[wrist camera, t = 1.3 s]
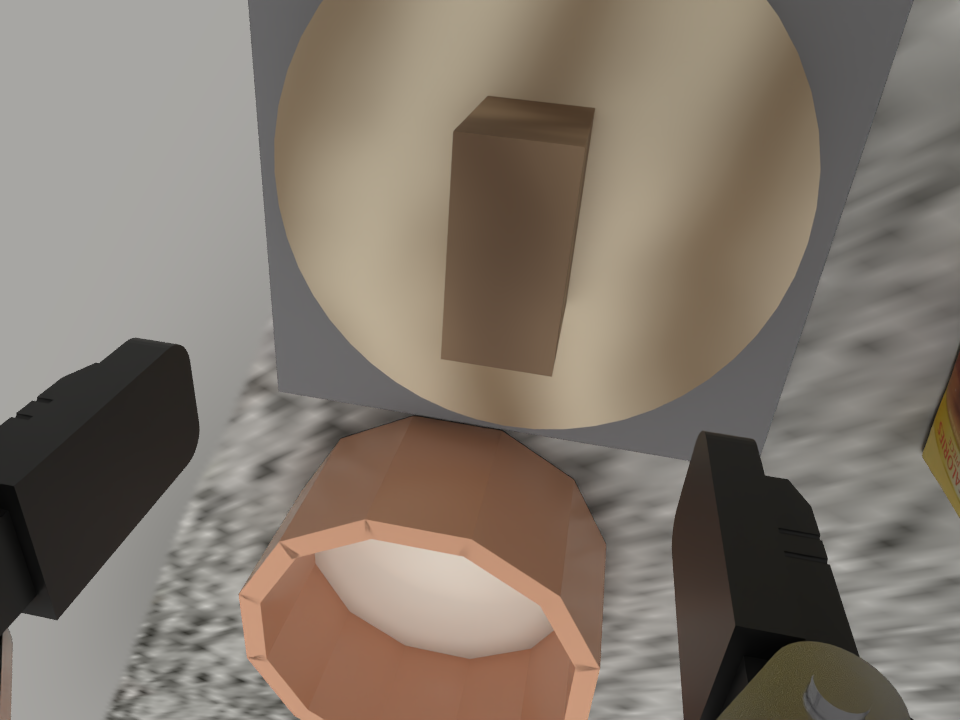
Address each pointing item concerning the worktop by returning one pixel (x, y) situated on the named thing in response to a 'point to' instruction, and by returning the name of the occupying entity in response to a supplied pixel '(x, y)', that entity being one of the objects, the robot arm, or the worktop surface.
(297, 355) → the mat
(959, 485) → the candy box
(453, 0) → the lid
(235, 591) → the worktop surface
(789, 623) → the robot arm
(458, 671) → the bowl
